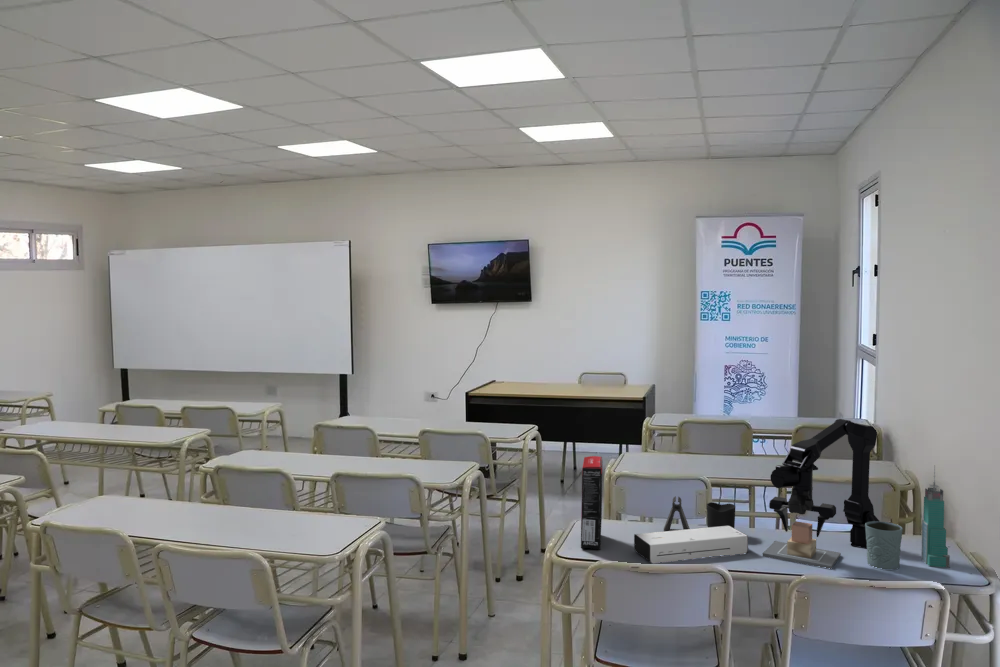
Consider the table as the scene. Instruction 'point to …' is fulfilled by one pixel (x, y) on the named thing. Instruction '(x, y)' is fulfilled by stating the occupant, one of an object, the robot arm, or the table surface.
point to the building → (934, 529)
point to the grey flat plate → (818, 559)
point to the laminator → (690, 543)
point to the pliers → (669, 521)
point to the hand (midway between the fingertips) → (801, 534)
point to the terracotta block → (801, 532)
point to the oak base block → (801, 548)
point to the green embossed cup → (883, 544)
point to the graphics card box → (591, 502)
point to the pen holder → (720, 515)
